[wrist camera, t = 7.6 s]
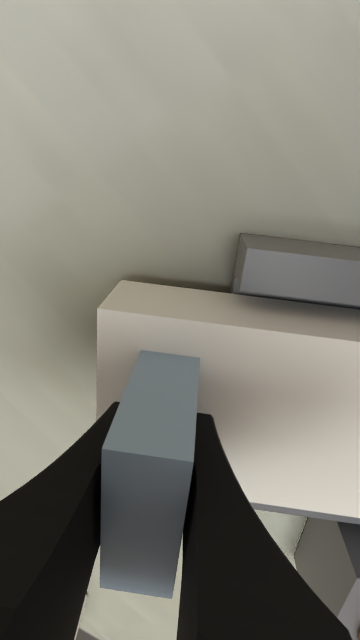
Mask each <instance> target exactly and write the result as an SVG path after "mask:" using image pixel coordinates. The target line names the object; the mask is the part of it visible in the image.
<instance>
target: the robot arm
mask: <svg viewBox="0 0 360 640" xmlns="http://www.w3.org/2000/svg"><path fill="white" fill-rule="evenodd" d="M119 404H120V402H116V401H115V402H114V403H112V404H111V405H110V407H109V408H108V409H107V410H106V411H105V412H104V414H103V415H102V416H101V417H100V418H99V419H98V420H97V421H96V422H95V423H94V424H93V425H92V427H91V428H90V429H89V430H88V431H87V432H86V433H84V434H83V435H82V436H81V437H80V438H79V439H78V440H77V441H76V442H75V443H74V444H73V445H72V446H71V447H70V448H69V449H68V450H67V451H65V452H64V453H63V454H62V455H61V456H60V457H59V458H58V459H56V460H55V461H54V462H53V463H52V464H50V465H49V466H48V467H47V468H46V469H44V470H43V471H42V472H40V473H39V474H38V475H37V476H35V477H34V478H33V479H31V480H30V481H29V482H27V483H26V484H24V485H23V486H22V487H20V488H19V489H17V490H16V491H14V492H13V493H11V494H10V495H9V496H7V497H6V498H4V499H3V500H1V501H0V640H74V638H75V634H76V631H77V627H78V623H79V619H80V615H81V611H82V607H83V603H84V599H85V596H86V592H87V588H88V584H89V581H90V577H91V573H92V569H93V566H94V562H95V559H96V556H97V552H98V549H99V546H100V537H101V462H102V447H103V444H104V442H105V439H106V437H107V434H108V432H109V429H110V427H111V424H112V422H113V419H114V417H115V414H116V411H117V409H118V406H119ZM177 640H352V637H351V635H350V633H349V630H348V629H347V628H346V627H345V626H344V625H343V624H342V622H341V621H340V620H339V619H338V618H337V617H336V616H335V615H334V614H333V613H332V612H331V610H330V609H329V608H328V607H327V606H326V605H325V604H324V603H323V602H322V601H321V599H320V598H319V597H318V596H317V595H316V594H315V593H314V591H313V590H312V589H311V588H310V587H309V585H308V584H307V583H306V582H305V580H304V579H303V578H302V577H301V576H300V574H299V573H298V572H297V571H296V569H295V568H294V567H293V565H292V564H291V563H290V561H289V560H288V559H287V557H286V556H285V555H284V553H283V552H282V551H281V549H280V548H279V547H278V545H277V544H276V542H275V541H274V540H273V538H272V537H271V536H270V534H269V533H268V531H267V530H266V528H265V527H264V525H263V523H262V522H261V520H260V519H259V517H258V516H257V514H256V512H255V511H254V509H253V507H252V506H251V504H250V502H249V501H248V499H247V497H246V495H245V494H244V492H243V490H242V488H241V486H240V484H239V482H238V480H237V478H236V476H235V474H234V472H233V470H232V468H231V466H230V463H229V461H228V459H227V456H226V454H225V452H224V449H223V447H222V444H221V441H220V439H219V436H218V433H217V430H216V426H215V423H214V418H213V417H212V415H211V414H204V413H197V417H196V433H195V449H194V463H193V470H192V476H191V482H190V489H189V495H188V501H187V508H186V514H185V520H184V527H183V564H182V582H181V594H180V606H179V618H178V630H177Z"/></svg>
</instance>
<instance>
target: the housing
mask: <svg viewBox="0 0 360 640" xmlns="http://www.w3.org/2000/svg"><path fill="white" fill-rule="evenodd" d="M230 294H238V295H246V296H254V297H262V298H270V299H278V300H286V301H295V302H303V303H311V304H319V305H327V306H335V307H343V308H351V309H359V310H360V247H353V246H344V245H336V244H327V243H319V242H310V241H302V240H293V239H285V238H276V237H268V236H259V235H251V234H242V233H240V239H239V245H238V251H237V256H236V262H235V268H234V274H233V280H232V286H231V292H230ZM250 504H251V506H252V507H253V509H257V510H264V511H271V512H278V513H284V514H291V515H298V516H305V517H308V520H307V522H306V525H305V528H304V530H303V533H302V536H301V538H300V541H299V544H298V547H297V549H296V552H295V555H294V559H295V563H296V568H297V572H298V573H299V574H300V576H301V577H302V578H303V579H304V580H305V582H306V583H307V584H308V585H309V587H310V588H311V589H312V590H313V591H314V593H315V594H316V595H317V596H318V597H319V598H320V599H321V601H322V602H323V603H324V604H325V605H326V606H327V607H328V608H329V609H330V610H331V612H332V613H333V614H334V615H335V616H336V617H337V618H338V619H339V620H340V621H341V622H342V624H343V625H344V626H345V627H346V628H347V629H348V630H349V633H350V635H351V637H352V640H358V634H359V631H360V518H356V517H349V516H342V515H335V514H328V513H321V512H315V511H308V510H301V509H294V508H287V507H280V506H273V505H267V504H260V503H253V502H250Z"/></svg>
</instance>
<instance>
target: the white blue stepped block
mask: <svg viewBox="0 0 360 640" xmlns="http://www.w3.org/2000/svg"><path fill="white" fill-rule="evenodd" d="M115 401H116V402H120V404H119V406H118V409H117V411H116V414H115V417H114V419H113V422H112V424H111V427H110V429H109V432H108V434H107V437H106V439H105V442H104V444H103V447H102V462H101V537H100V588H106V589H112V590H119V591H125V592H132V593H138V594H144V595H151V596H157V597H163V598H170V599H172V596H173V590H174V584H175V577H176V571H177V565H178V558H179V552H180V546H181V539H182V533H183V527H184V520H185V514H186V508H187V501H188V495H189V489H190V482H191V476H192V470H193V463H194V449H195V433H196V417H197V413H204V414H211V415H212V417H213V418H214V423H215V426H216V430H217V433H218V436H219V439H220V441H221V444H222V447H223V449H224V452H225V454H226V456H227V459H228V461H229V463H230V466H231V468H232V470H233V472H234V474H235V476H236V478H237V480H238V482H239V484H240V486H241V488H242V490H243V492H244V494H245V495H246V497H247V499H248V501H249V502H253V503H260V504H267V505H273V506H280V507H287V508H294V509H301V510H308V511H315V512H321V513H328V514H335V515H342V516H349V517H356V518H360V310H359V309H351V308H343V307H335V306H327V305H319V304H311V303H303V302H295V301H286V300H278V299H270V298H262V297H254V296H246V295H238V294H230V293H222V292H214V291H206V290H198V289H190V288H182V287H174V286H166V285H158V284H150V283H142V282H134V281H126V280H121V281H120V282H119V283H118V284H117V285H116V287H115V288H114V289H113V290H112V291H111V293H110V294H109V295H108V296H107V297H106V299H105V300H104V301H103V302H102V303H101V305H100V306H99V307H98V308H97V420H98V419H99V418H100V417H101V416H102V415H103V414H104V412H105V411H106V410H107V409H108V408H109V407H110V405H111V404H112V403H114V402H115Z"/></svg>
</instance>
